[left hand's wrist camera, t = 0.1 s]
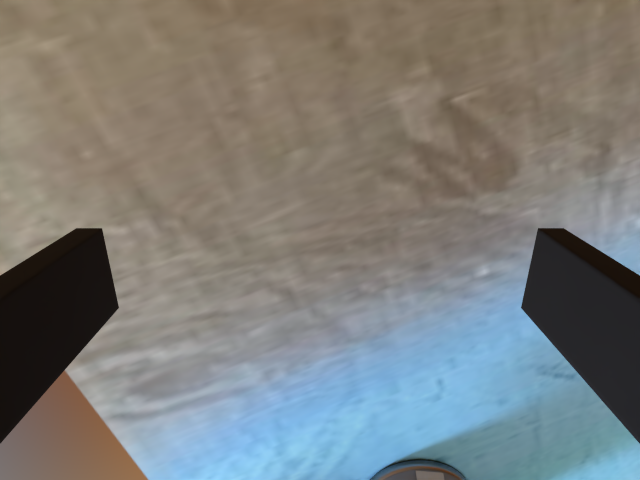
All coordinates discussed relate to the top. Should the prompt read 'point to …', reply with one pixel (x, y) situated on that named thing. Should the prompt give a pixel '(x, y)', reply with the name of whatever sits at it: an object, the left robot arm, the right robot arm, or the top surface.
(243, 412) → the top surface
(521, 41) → the top surface
